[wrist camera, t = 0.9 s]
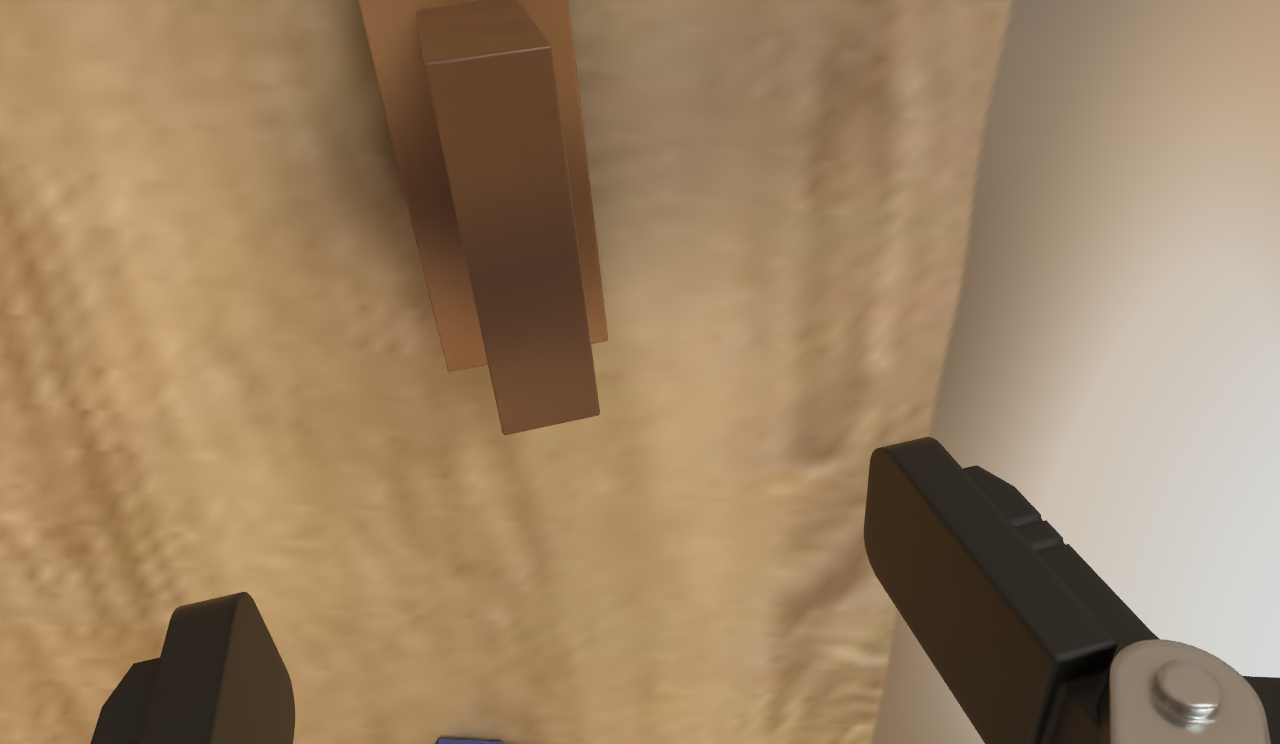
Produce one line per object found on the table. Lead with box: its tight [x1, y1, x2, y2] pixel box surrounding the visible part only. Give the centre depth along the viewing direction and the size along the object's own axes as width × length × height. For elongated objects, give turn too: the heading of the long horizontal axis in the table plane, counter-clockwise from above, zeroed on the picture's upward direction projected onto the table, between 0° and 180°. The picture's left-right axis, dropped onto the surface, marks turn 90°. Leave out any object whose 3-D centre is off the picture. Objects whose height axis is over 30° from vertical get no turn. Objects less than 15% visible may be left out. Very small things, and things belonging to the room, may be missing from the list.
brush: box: [357, 0, 608, 435], centre depth 20 cm, size 10×4×7 cm, turn 4°
